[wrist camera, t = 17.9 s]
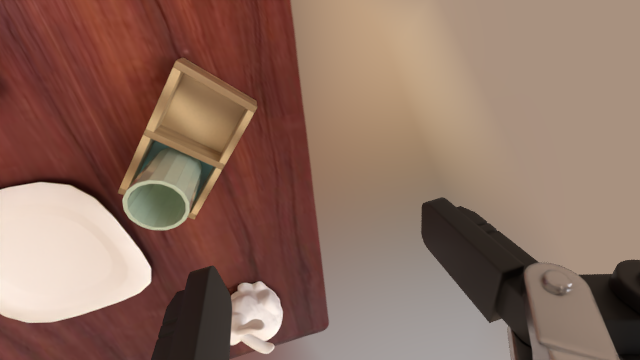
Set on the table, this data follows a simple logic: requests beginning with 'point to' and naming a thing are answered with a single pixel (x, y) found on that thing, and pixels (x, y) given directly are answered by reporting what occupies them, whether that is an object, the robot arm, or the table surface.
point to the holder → (194, 125)
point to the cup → (163, 190)
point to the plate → (63, 254)
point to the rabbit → (255, 316)
